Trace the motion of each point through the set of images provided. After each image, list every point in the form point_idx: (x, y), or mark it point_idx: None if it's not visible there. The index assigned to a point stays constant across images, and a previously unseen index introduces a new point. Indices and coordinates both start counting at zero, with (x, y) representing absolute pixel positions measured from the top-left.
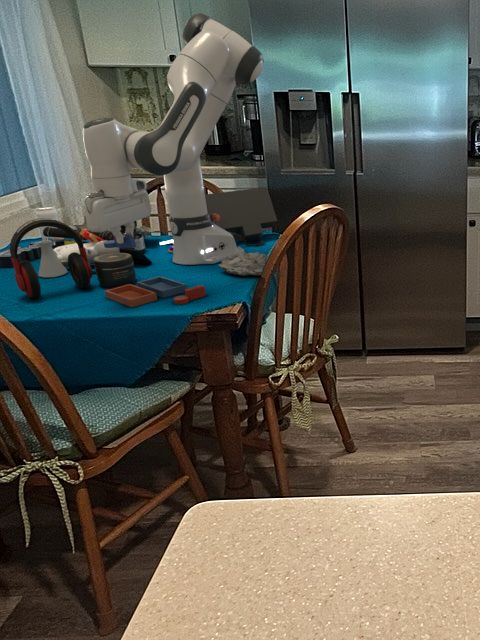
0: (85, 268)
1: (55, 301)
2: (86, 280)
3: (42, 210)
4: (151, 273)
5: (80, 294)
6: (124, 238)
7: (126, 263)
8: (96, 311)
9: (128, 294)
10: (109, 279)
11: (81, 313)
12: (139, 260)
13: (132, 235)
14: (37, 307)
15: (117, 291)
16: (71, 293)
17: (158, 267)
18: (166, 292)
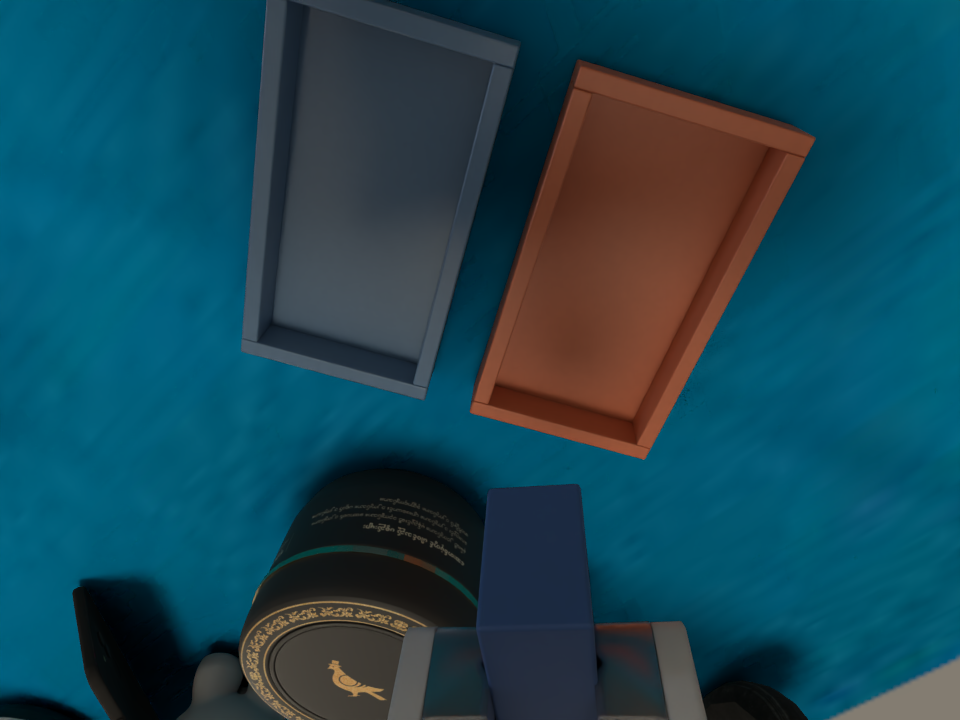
0: None
1: (756, 599)
2: None
3: None
4: (178, 495)
5: (624, 572)
6: (630, 676)
7: (357, 567)
8: (906, 303)
9: (571, 334)
10: (481, 550)
11: (953, 361)
12: (110, 642)
13: (420, 679)
14: (861, 609)
15: (576, 414)
16: (623, 612)
17: (88, 528)
18: (485, 34)
